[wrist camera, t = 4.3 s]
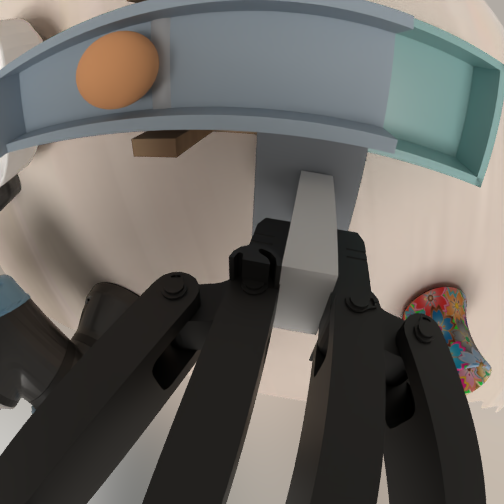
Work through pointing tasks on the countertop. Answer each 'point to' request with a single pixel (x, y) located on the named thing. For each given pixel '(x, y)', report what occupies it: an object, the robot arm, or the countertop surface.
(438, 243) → the countertop surface
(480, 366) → the mug
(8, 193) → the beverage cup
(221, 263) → the countertop surface
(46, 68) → the blue-grey ramp
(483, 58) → the tray
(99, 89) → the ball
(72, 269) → the countertop surface
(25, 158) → the bowl
